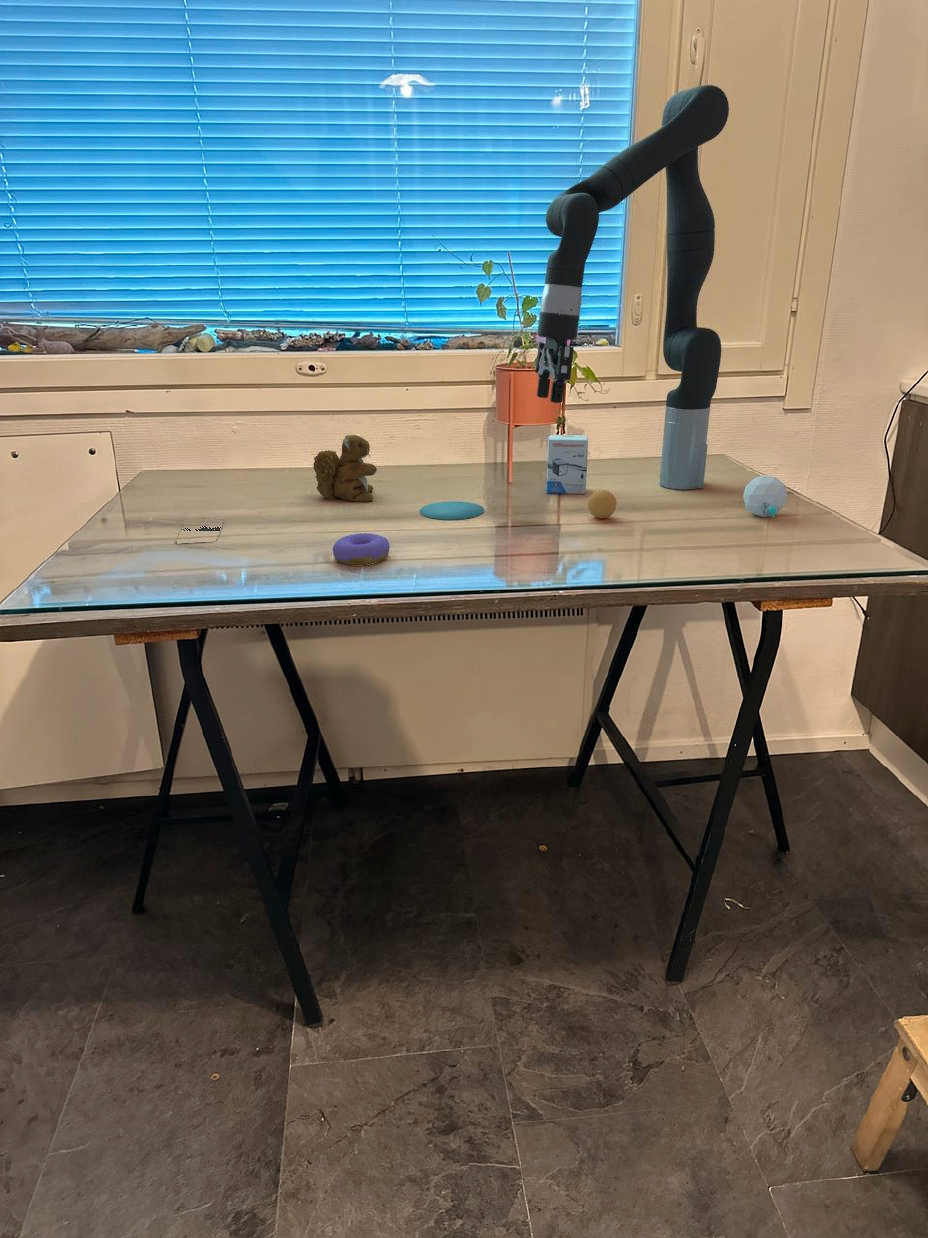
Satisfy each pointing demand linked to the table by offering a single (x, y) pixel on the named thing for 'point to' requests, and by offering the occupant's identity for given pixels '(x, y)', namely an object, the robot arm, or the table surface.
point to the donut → (361, 549)
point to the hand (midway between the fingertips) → (548, 399)
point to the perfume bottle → (765, 496)
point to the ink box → (567, 464)
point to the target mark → (452, 510)
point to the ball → (602, 504)
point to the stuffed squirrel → (345, 471)
